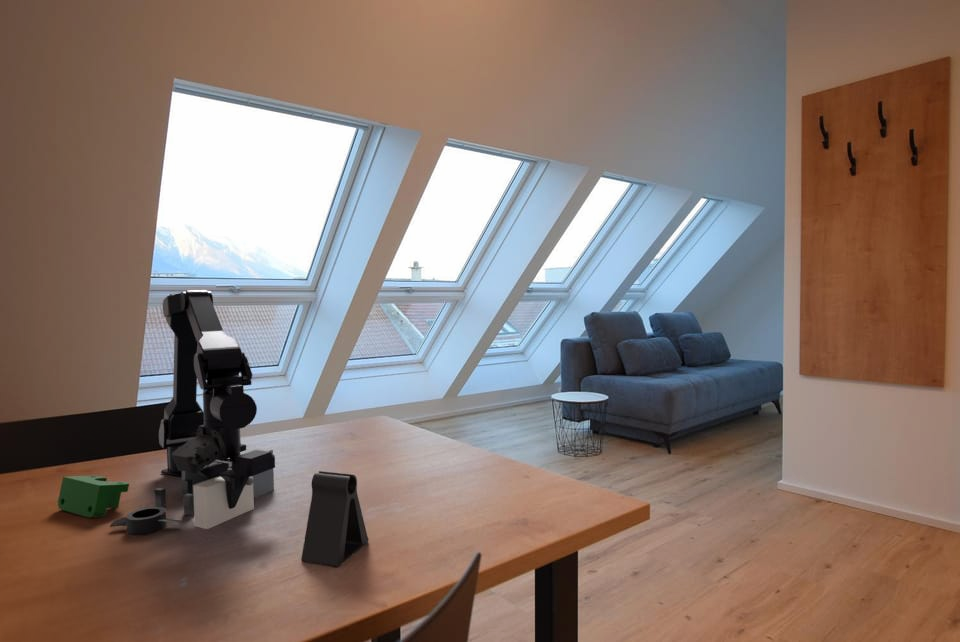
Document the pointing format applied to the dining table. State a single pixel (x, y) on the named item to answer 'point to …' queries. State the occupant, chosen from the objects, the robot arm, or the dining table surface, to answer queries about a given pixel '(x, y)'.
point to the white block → (219, 502)
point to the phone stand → (333, 520)
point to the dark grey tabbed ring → (144, 521)
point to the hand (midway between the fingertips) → (225, 506)
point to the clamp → (90, 495)
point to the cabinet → (260, 481)
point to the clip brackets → (187, 497)
